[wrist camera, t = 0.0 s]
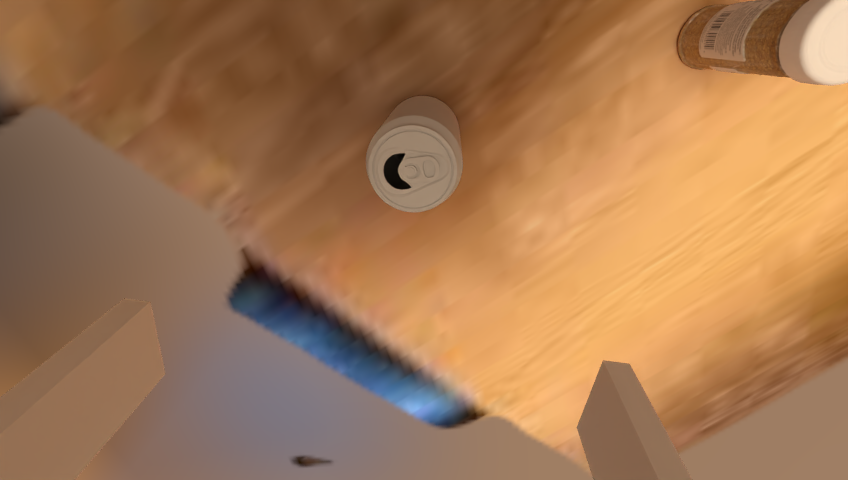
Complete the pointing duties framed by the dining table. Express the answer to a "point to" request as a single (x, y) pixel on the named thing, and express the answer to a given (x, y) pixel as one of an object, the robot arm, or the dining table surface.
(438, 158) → the beverage can
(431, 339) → the dining table surface
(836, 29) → the sprinkles bottle
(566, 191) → the dining table surface
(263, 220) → the dining table surface
